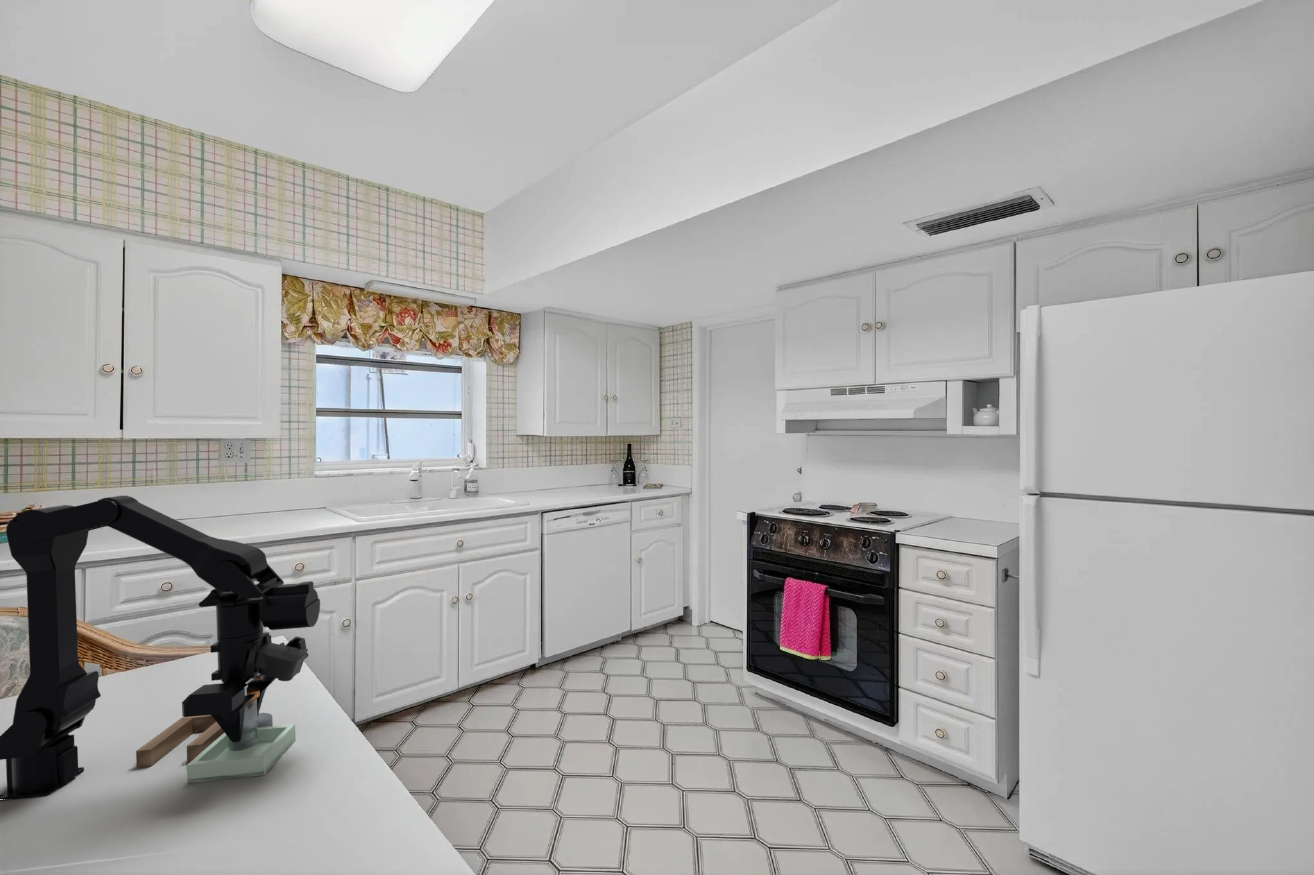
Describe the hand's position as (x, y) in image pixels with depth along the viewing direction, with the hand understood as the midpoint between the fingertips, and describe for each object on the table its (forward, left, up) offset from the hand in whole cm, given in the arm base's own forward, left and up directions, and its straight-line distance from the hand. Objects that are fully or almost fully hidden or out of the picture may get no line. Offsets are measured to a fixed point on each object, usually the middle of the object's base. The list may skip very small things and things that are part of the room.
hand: (243, 735), depth 89 cm
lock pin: (0, 0, -2) cm, 2 cm away
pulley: (-3, +8, -4) cm, 9 cm away
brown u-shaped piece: (-11, +7, -4) cm, 14 cm away
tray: (0, 0, -4) cm, 4 cm away
